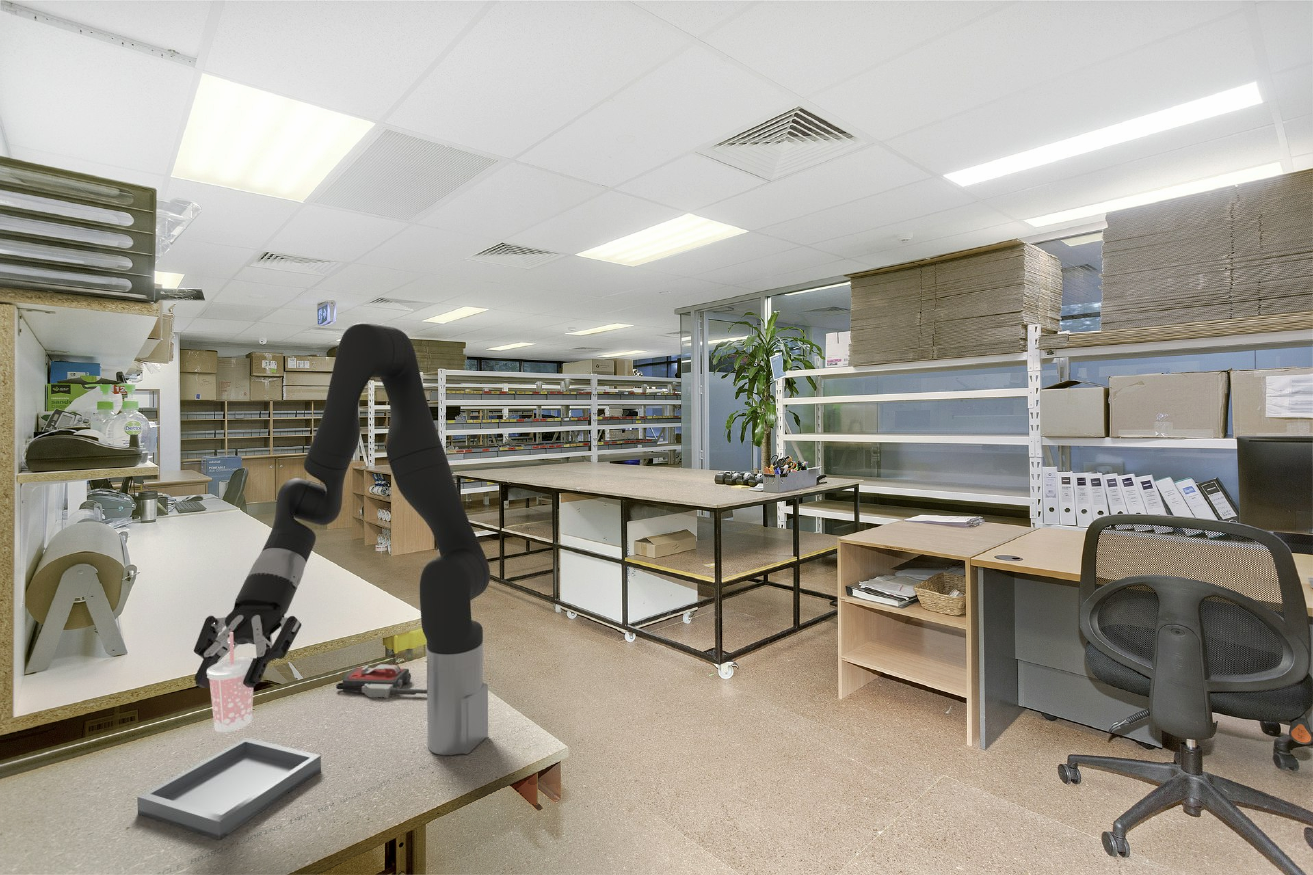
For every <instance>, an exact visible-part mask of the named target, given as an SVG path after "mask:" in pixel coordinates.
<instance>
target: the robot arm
mask: <svg viewBox="0 0 1313 875" xmlns="http://www.w3.org/2000/svg"><path fill="white" fill-rule="evenodd" d="M418 362H419V361H418V359H417V355H416V350H415V348H414V345H413V343H412V341H411V339H410V338H409V336H408V335H407V333H405V331H404V332H403V331H402V330H401V329H399V328H396V327H393V326H387V325H381V324H376V323H371V322H357V323H354V324H351V326H348V328H347V329H346V330H345V331H344V332H343V334H342V335H341V338H340V341H339V343H338V346H337V350H336V355H335V359H334V363H333V367H332V368H333V369H332V372H331V376H330V381H329V385H328V386H329V387H328V390H327V395H326V401H325V405H324V408H323V412H322V416H321V419H320V421H319V422H320V423H319V425H318V427H317V430H316V433H315V435H314V437H313V440H312V442H311V444H310V446H309V449H308V451H307V454H306V455H305V458H304V462H303V468H304V470H305V472H307V474H309V475H310V476H312V477H313V478H315V479H317V480H319V481H320V482H321V483H322V484H324V485H322V484H320V483H316V482H313V481H309V480H307V479H304V478H297V477H296V478H295V477H294V478H292V479H289V480H287V481H286V482H284V483H283V484H282V485H281V486H280V488H279V490H278V492H277V496H276V503H275V504H276V505H275V515H274V521H273V525H272V528H271V531H270V533H269V536H268V538H267V539H266V542H265V544H264V545H263V548H262V549H261V552H260V554H259V555H258V557H257V558H256V559H255V561H254V563H253V564H252V566H251V568H250V570H249V572H248V574H247V576H246V579H245V580H244V582H243V584H242V586H241V588H240V590H239V592H238V594H237V596H236V598H235V600H234V605H233V609H232V611H231V612H230V613H228V614H227V615H226V617H217V618H216V617H215V616H214V615H208V616H207V617H206V618H205V620H204V623H203V626H202V627H201V630H200V633H199V634H198V638H197V641H196V643H195V646H194V648H193V652H194V653H195V654H197V655H198V656H199V657H200V658H201V659H202V662H201V664H200V665H199V668H198V669H197V671H196V674H195V675H194V681H195V685H196V686H198V687H199V688H200V689H201V688H203V689H205V688H209V687H210V681H209V678H207V669H208V668H209V667H210V666H212V665H214V664H216V663H218V662H221V661H222V659H223V658H225V656H226V655H227V654H228V653H230V641H228V640H229V633H230V632H233V644H234V650H235V649H236V648H237V647H238V646H239V645H247V644H251V645H255V652H256V653H255V654H256V657H252V658H253V660H252V662H251V665H250V667H249V669H248V671H247V674H246V676H245V678H244V680H243V684H244V685H245V686H246V687H248V688H253V689H254V688H255V687H256V685H257V684H259V683H260V682H261V680H263V679H262V678H263V676H264V673H265V671H266V668H267V666H268V664H269V663H271V661H273V660H276V659H279V660H282V659H284V658H285V657H286V656H287V653H288V651H289V650H290V648H291V646H292V644H293V643H294V641H295V638H296V636H297V635H298V633H299V631H300V629H301V627H302V623H301V621H300V620H299V619H298V618H297V617H295V615H291V616H288V617H286V614H287V613H288V611H289V608H290V606H291V603H292V601H293V599H294V597H295V595H296V592H297V590H298V588H299V585H300V584H301V580H302V579H303V575H304V572H305V567H306V565H307V564H308V563H307V562H308V560H309V557H310V555H311V553H312V551H313V548H314V545H315V543H316V541H317V540H316V539H317V535H316V534H315V532H314V530H312V529H311V528H310V527H308V526H307V525H305V524H303V523H301V522H299V521H298V520H302V521H304V522H308V523H311V524H314V525H318V526H328V525H330V524H331V523H333V522H334V521H335V520H337V518H338V517H339V515H340V513H341V510H342V506H343V505H342V503H343V491H344V490H343V489H344V482H345V478H346V475H347V472H348V469H349V467H350V465H351V462H352V460H353V458H354V455H355V453H356V451H357V448H358V444H359V442H360V437H361V424H360V416H359V406H360V399H361V397H362V394H363V392H364V390H365V388H366V386H367V384H368V383H369V381H370V380H371V378H379V379H380V380H381V383H382V385H383V387H384V390H385V393H386V396H387V399H388V403H389V409H390V418H389V425H388V431H387V436H386V438H387V439H386V446H385V447H386V449H385V450H386V457H387V461H388V465H389V468H390V470H391V474H392V476H393V478H394V482H395V484H396V486H397V489H398V491H399V493H400V494H401V496H403V498H404V500H406V502H407V503H408V504H409V505H410V507H412V508H413V510H415V512H416V513H417V514H418V515H419V516H420V517H421V518H422V519H423V520H424V522H425V523H426V524H427V526H428V527H429V529H430V531H431V533H432V535H433V537H434V539H435V543H436V546H437V549H438V552H439V556H438V557H436V558H433V559H432V560H430V561H428V563H426V565H425V566H424V567H423V569H422V572H421V575H420V579H419V604H420V606H419V607H420V620H421V621H420V622H421V629H422V630H421V631H422V633H423V636H425V639H426V690H427V694H426V711H427V712H426V719H427V720H426V721H427V723H426V724H427V725H426V726H427V729H426V730H427V748H428V749H429V751H430V752H432V753H433V754H436V755H441V756H453V755H460V754H464V755H468V754H470V753H471V752H472V751H473V750H474V749H475V748H476V747H478V746H479V745H480V744H481V743H482V742H483V741H484V740H485V739H486V738H488V736H489V686H488V683H485V682H484V630H483V626H482V624H481V623H480V622H478V621H477V620H473V619H472V607H471V603H472V602H471V601H472V600H474V599H476V598H478V597H479V596H480V595H481V594H483V593H484V592H485V591H486V589H487V588H488V586H489V584H490V580H491V579H490V578H491V569H490V566H489V562H488V559H487V556H486V554H485V552H484V549H483V548H482V546H481V543H480V542H479V539H478V537H477V535H476V533H475V530H474V528H473V527H472V524H471V522H470V520H469V517H468V515H467V513H466V510H465V508H464V504H463V502H462V499H461V495H460V493H459V490H458V487H457V485H456V483H455V479H454V476H453V472H452V470H451V466H450V463H449V460H448V458H447V454H446V452H445V448H444V447H443V444H442V441H441V439H440V436H439V434H438V431H437V428H436V425H435V422H434V418H433V415H432V412H431V409H430V406H429V403H428V400H427V397H426V394H425V389H424V385H423V381H422V376H421V371H420V366H419V363H418ZM224 627H226V628H225V629H224ZM223 629H224V630H223ZM279 629H280V632H279V634H277V636H276V639H275V640H274V642H273V637H272V635H273V634H274V633H275V632H276V631H278V630H279Z"/></svg>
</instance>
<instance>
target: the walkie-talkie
mask: <svg viewBox="0 0 1313 875" xmlns="http://www.w3.org/2000/svg"><path fill="white" fill-rule="evenodd" d="M411 678H412V674H411V672H410V669H409V668H401V667H400V666H399V665H397V664H385V663H383V664H382V663H380V664H378V665H377V666H375V667H370V666H369V665H365V666H364V667H354V668H353V669H351V670H350V671H349V672H348V673H347V674H345V675H344V676H343V677H342V682H338V683H337V684H336V685H335V686H336V687H335V688H336V690H342V692H344V693H364V695H365V696H367V697H368V698H378V697H381V698H382V697H384V698H383V699H389V698H390V697H391V696H397V695H408V696H415V695H416V694H420V695H422V694H424V695H427V689H417V688H402V687H403V686H405V685H406V684H409V683H410V681H411ZM381 698H380V699H381Z"/></svg>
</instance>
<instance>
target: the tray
mask: <svg viewBox="0 0 1313 875" xmlns="http://www.w3.org/2000/svg"><path fill="white" fill-rule="evenodd" d="M321 771H322V755H321V754H319V753H312V752H310V751H305V750H300V749H297V748H292V747H288V746H284V745H280V744H276V743H271V742H268V741H263V740H258V739H255V738H250V737H245V738H243V739H241V740H239V741H237V742H235V743H234V744H231V745H230V746H228V747H226V748H225V749H222V750H220V751H219V752H217V753H215V754H213V755H211V756H210V757H208V758H205V759H204V760H203V761H201V762H199V763H197V764H195V765H193V766H192V767H190V768H188V769H186V770H184V771H182V772H180V773H179V774H176V775H175V776H173V777H171V778H169V779H168V780H165V781H163V782H162V783H159V784H158V785H156V786H155V787H153V788H151V789H150V790H147V791H145V792H144V793H141V794H139V795H138V796H137V799H136V800H137V801H136V802H137V814H138V815H140V816H144V817H147V818H150V819H153V820H156V821H158V822H159V821H160V822H161V823H166V824H169V825H172V826H175V827H178V828H181V829H184V830H188V831H190V832H193V833H197V834H200V835H203V836H206V837H210V838H212V839H215V840H218V841H220V840H222V839H223V838H225V837H226V836H228V835H229V834H230V833H232V832H234V831H235V830H236V829H238V828H239V827H240V826H242V825H244V824H246V823H247V822H248V821H249V820H251V819H252V818H254V817H255V816H257V815H258V814H260V813H261V812H263V811H264V810H266V808H269V807H270V806H271V805H273V804H274V803H275V802H277V801H279V800H280V799H282V798H283V797H285V796H286V795H287V794H289V793H291V792H292V791H293V790H295V789H297V788H298V787H299V786H301V785H302V784H303V782H304V783H305V782H307V781H308V780H309V779H311V778H312V777H313V776H316V774H318V773H320V772H321ZM300 784H301V785H300ZM297 786H298V787H297ZM294 788H295V789H294ZM291 790H292V791H291ZM288 792H289V793H288Z"/></svg>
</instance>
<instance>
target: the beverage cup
mask: <svg viewBox="0 0 1313 875" xmlns="http://www.w3.org/2000/svg"><path fill="white" fill-rule="evenodd" d="M228 640H229V642H230V652H229V658H228V659H225V660H220V661H219V662H218V663H216V664H214V665H212V666H210V667H209V668H208V669H207V678H209V681H210V684H209V689H210V700H211V708H212V709H211V710H212V718H213V726H214V731H215V732H217V733H231V732H234V731H238V730H241V729H244V728H245V727H247V726H248V725H250V724H251V723H252V722H253V706H254V688H248V687H246V686H245V685H244V684H243V680H244V678H245V676H246V674H247V671H248V669H249V667H250V665H251V662H252V660H253V658H254V657H250V656H248V657H247V656H241V657H240V656H239V657H235V653H234V652H235V649H234V644H233V632H230V633H229V638H228Z"/></svg>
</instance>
